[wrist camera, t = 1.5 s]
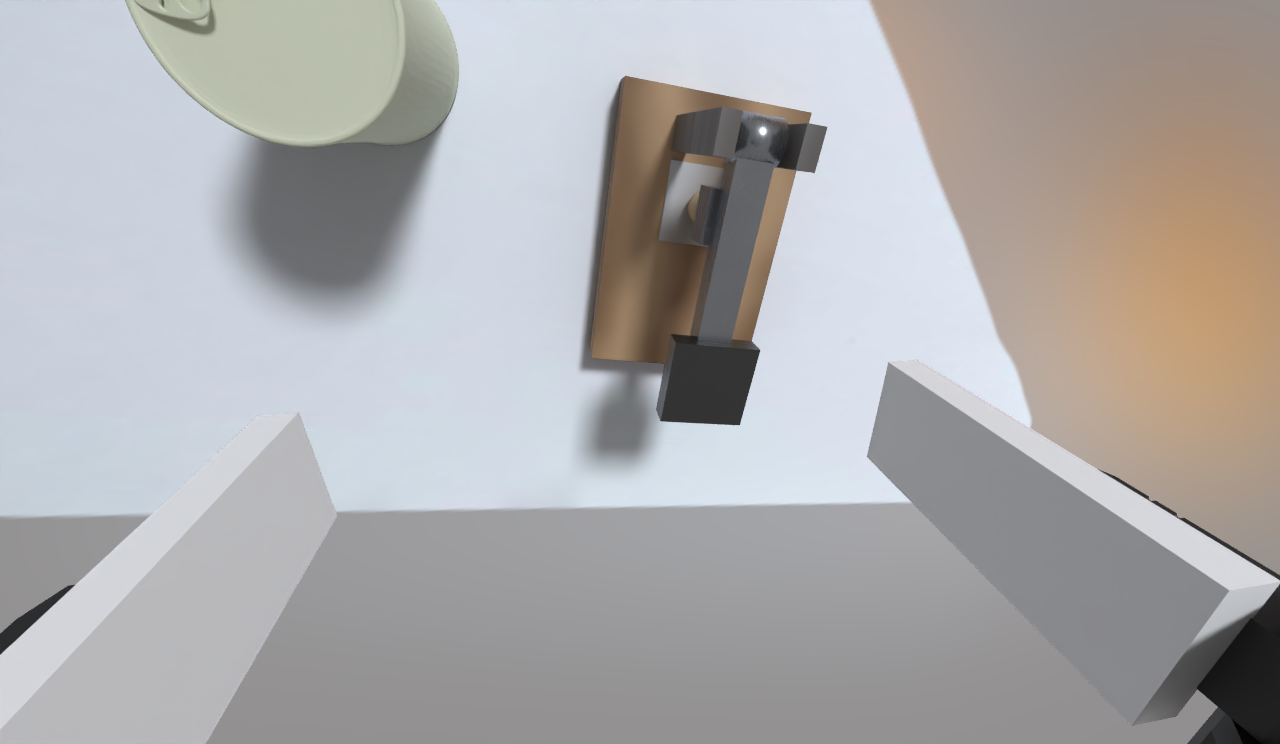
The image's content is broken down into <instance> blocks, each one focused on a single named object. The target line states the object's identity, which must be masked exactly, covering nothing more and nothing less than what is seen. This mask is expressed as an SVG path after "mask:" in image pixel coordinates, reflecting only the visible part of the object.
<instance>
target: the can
mask: <svg viewBox="0 0 1280 744" xmlns="http://www.w3.org/2000/svg"><path fill="white" fill-rule="evenodd" d="M125 1H126V4H127V6H128V9H129V11H130V13H131V16H132V18H133V20H134V22H135V24H136V26H137V28H138V30H139V32H140V34H141V35H142V37H143V39H144V41H145V42H146V44H147V46H148V47H149V49H150V50H151V52H152V53H153V54H154V56H155V57H156V59H157V60H158V61H159V63H160V64H161V65H162V67H163V68H164V69H165V70H166V72H167V73H168V74H169V75H170V76H171V77H172V78H173V79H174V80H175V82H176V83H177V84H178V85H179V86H180V87H181V88H182V89H183V90H184V91H185V92H186V93H187V94H188V95H189V96H191V97H192V98H193V99H194V100H195V101H196V102H198V103H199V104H200V105H201V106H203V107H204V108H205V109H206V110H208V111H209V112H211V113H212V114H214V115H215V116H216V117H218V118H219V119H221V120H223V121H224V122H226V123H228V124H230V125H231V126H233V127H235V128H237V129H239V130H241V131H243V132H245V133H247V134H250V135H252V136H255V137H257V138H260V139H263V140H266V141H269V142H273V143H277V144H282V145H288V146H295V147H320V146H327V145H333V144H337V143H356V142H371V143H375V144H381V145H400V144H406V143H410V142H413V141H416V140H418V139H421V138H423V137H424V136H426V135H428V134H429V133H431V132H432V131H433V130H435V129H436V128H437V127H438V126H439V125H440V124H441V122H442V121H443V120H444V119H445V117H446V116H447V114H448V112H449V111H450V109H451V107H452V104H453V102H454V99H455V96H456V92H457V87H458V78H459V65H458V55H457V50H456V45H455V42H454V38H453V35H452V32H451V30H450V27H449V25H448V23H447V21H446V19H445V17H444V15H443V13H442V11H441V10H440V8H439V7H438V5H437V3H436V2H435V1H434V0H125Z"/></svg>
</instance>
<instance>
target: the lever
mask: <svg viewBox="0 0 1280 744" xmlns="http://www.w3.org/2000/svg"><path fill="white" fill-rule="evenodd" d="M742 111H743V110H742ZM788 135H789V127H788V122H787V120H786V119H784V118H779V117H774V116H768V115H763V114H758V113H753V112H748V111H743V115H742V120H741V125H740V129H739V134H738V139H737V143H736V148H735V153H734V158H733V159H729V158H724V161H725V162H726V163H725V168H724V172H723V177H722V182H721V187H714V186H707V185H701V187H700V192H699V197H698V203H697V208H696V213H695V218H694V224H693V229H692V234H691V239H693V240H694V241H695V242H697V243H698V244H699V245H705V246H708V250H707V255H706V260H705V264H704V269H703V274H702V279H701V284H700V289H699V294H698V298H697V303H696V308H695V313H694V318H693V323H692V327H691V332H690V335H678V334H670V339H669V344H668V349H667V355H666V360H665V365H664V371H663V376H662V381H661V387H660V392H659V397H658V402H657V408H656V410H657V413H658V416H659V418H660V421H665V422H685V423H705V424H726V425H740V422H741V418H742V415H743V411H744V407H745V404H746V400H747V396H748V393H749V389H750V386H751V382H752V378H753V375H754V371H755V367H756V364H757V360H758V356H759V353H760V349H759V348H758V347H757V346H756V345H755V344H754V343H753V342H752V341H746V340H735V339H732V336H733V332H734V328H735V324H736V320H737V316H738V312H739V308H740V304H741V300H742V296H743V291H744V287H745V283H746V279H747V275H748V271H749V267H750V263H751V259H752V255H753V251H754V247H755V242H756V238H757V234H758V230H759V226H760V222H761V218H762V214H763V210H764V206H765V202H766V198H767V194H768V189H769V185H770V181H771V177H772V173H773V170H774V169H775V168H776V167H777V166H778V165H779V163H780V161H781V159H782V157H783V155H784V153H785V150H786V146H787V142H788Z"/></svg>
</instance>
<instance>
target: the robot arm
mask: <svg viewBox="0 0 1280 744" xmlns="http://www.w3.org/2000/svg"><path fill="white" fill-rule="evenodd" d="M867 457H868V458H869V459H870V460H871V461H872V462H873V463H874V464H875V465H876V466H877V467H878V468H879V470H880V471H881V472H882V473H883V474H884V475H885V476H886V477H887V478H888V479H889V480H890V481H891V482H892V483H893V484H894V485H895V486H896V487H897V488H898V489H899V490H900V491H901V492H902V493H903V494H904V495H905V496H906V497H907V498H908V499H909V500H910V501H911V502H912V503H913V504H914V505H915V506H916V507H917V508H918V509H919V510H920V511H921V512H922V513H923V514H924V515H925V516H926V517H927V518H928V519H929V520H930V521H931V522H932V523H933V524H934V525H935V527H936V528H937V529H939V531H940V532H941V533H942V534H943V535H944V536H945V537H946V538H947V539H948V540H949V541H950V542H951V543H952V544H953V545H954V546H955V547H956V548H957V549H958V550H959V551H960V552H961V553H962V554H963V555H964V556H965V557H966V558H967V559H968V560H969V561H970V562H971V563H972V564H973V565H974V566H975V567H976V568H977V569H978V570H979V571H980V572H981V573H982V574H983V575H984V576H985V577H986V578H987V580H989V581H990V583H991V584H993V586H994V587H996V589H997V590H998V591H1000V593H1001V594H1002V595H1003V596H1004V597H1005V598H1006V599H1007V600H1008V601H1009V602H1010V603H1011V604H1012V605H1013V606H1014V607H1015V608H1016V609H1017V610H1018V611H1019V612H1020V613H1021V614H1022V615H1023V616H1024V617H1025V618H1026V619H1027V620H1028V621H1029V622H1030V623H1031V624H1032V625H1033V626H1034V627H1035V628H1036V629H1037V630H1038V631H1039V632H1040V633H1041V634H1042V636H1043V637H1044V638H1045V639H1046V640H1047V641H1048V642H1049V643H1050V644H1051V645H1052V646H1053V647H1054V648H1055V649H1056V650H1057V651H1058V652H1059V653H1060V654H1061V655H1062V656H1063V657H1064V658H1065V659H1066V660H1067V661H1068V662H1069V663H1070V664H1071V665H1072V666H1073V667H1074V668H1075V669H1076V670H1077V671H1078V672H1079V673H1080V674H1081V675H1082V676H1083V677H1084V678H1085V679H1086V680H1087V681H1088V682H1089V683H1090V684H1091V685H1092V686H1093V687H1094V688H1095V689H1096V690H1097V692H1098V693H1100V695H1101V696H1102V697H1103V698H1104V699H1105V700H1106V701H1107V702H1108V703H1109V704H1110V705H1111V706H1112V707H1113V708H1114V709H1115V710H1116V711H1117V712H1118V713H1119V714H1120V715H1121V716H1122V717H1123V718H1124V719H1125V720H1126V721H1127V722H1128V723H1129V724H1130V725H1131V726H1133V725H1137V724H1143V723H1147V722H1152V721H1157V720H1162V719H1167V718H1171V717H1176V716H1177V715H1178V713H1179V712H1180V711H1181V709H1182V708H1183V707H1184V706H1185V704H1186V703H1187V702H1188V701H1189V699H1190V698H1191V697H1192V696H1193V694H1194V693H1195V692H1196V690H1197V689H1198V690H1199V691H1200V692H1201V693H1203V694H1204V695H1205V696H1206V697H1207V698H1208V699H1210V700H1211V701H1212V702H1213V703H1214V704H1216V705H1217V706H1218V708H1217V709H1216V710H1215V711H1214V713H1213V714H1212V715H1211V716H1210V717H1209V718H1208V720H1207V721H1206V722H1205V723H1204V724H1203V726H1202V727H1201V728H1200V729H1199V731H1198V732H1197V733H1196V734H1195V735H1194V737H1193V738H1192V739H1191V740H1190V741H1189V743H1188V744H1280V575H1278V574H1277V573H1275V572H1273V571H1272V570H1270V569H1268V568H1266V567H1265V566H1263V565H1262V564H1260V563H1258V562H1257V561H1255V560H1253V559H1252V558H1250V557H1248V556H1247V555H1245V554H1243V553H1242V552H1240V551H1238V550H1237V549H1235V548H1233V547H1232V546H1230V545H1228V544H1227V543H1225V542H1223V541H1222V540H1220V539H1218V538H1217V537H1215V536H1214V535H1212V534H1210V533H1209V532H1207V531H1205V530H1204V529H1202V528H1200V527H1199V526H1197V525H1195V524H1194V523H1192V522H1190V521H1189V520H1187V519H1185V518H1178V517H1177V514H1176V513H1175V512H1173V511H1172V510H1170V509H1169V508H1167V507H1165V506H1164V505H1162V504H1160V503H1159V502H1157V501H1150V500H1149V496H1147V495H1145V494H1144V493H1142V492H1140V491H1139V490H1137V489H1135V488H1134V487H1132V486H1130V485H1129V484H1127V483H1125V482H1124V481H1122V480H1120V479H1119V478H1117V477H1115V476H1113V475H1110V474H1108V473H1106V472H1103V471H1101V470H1099V469H1096V468H1094V467H1093V466H1091V465H1089V464H1088V463H1086V462H1084V461H1083V460H1081V459H1080V458H1078V457H1076V456H1075V455H1073V454H1071V453H1070V452H1068V451H1066V450H1065V449H1063V448H1062V447H1060V446H1058V445H1056V444H1055V443H1053V442H1052V441H1050V440H1048V439H1047V438H1045V437H1044V436H1042V435H1040V434H1039V433H1037V432H1035V431H1034V430H1032V429H1030V428H1029V427H1027V426H1025V425H1024V424H1022V423H1021V422H1019V421H1017V420H1016V419H1014V418H1012V417H1011V416H1009V415H1007V414H1006V413H1004V412H1002V411H1001V410H999V409H998V408H996V407H994V406H993V405H991V404H989V403H988V402H986V401H984V400H983V399H981V398H979V397H978V396H976V395H975V394H973V393H971V392H970V391H968V390H966V389H965V388H963V387H961V386H960V385H958V384H956V383H955V382H953V381H952V380H950V379H948V378H947V377H945V376H943V375H942V374H940V373H938V372H937V371H935V370H933V369H932V368H930V367H929V366H927V365H925V364H924V363H922V362H920V361H919V360H909V361H897V362H888V367H887V371H886V376H885V380H884V384H883V389H882V393H881V397H880V402H879V406H878V411H877V415H876V419H875V424H874V428H873V433H872V437H871V441H870V446H869V450H868V454H867ZM336 517H337V515H336V512H335V509H334V506H333V504H332V501H331V498H330V496H329V493H328V490H327V487H326V485H325V482H324V479H323V477H322V474H321V471H320V468H319V466H318V463H317V460H316V458H315V455H314V452H313V450H312V447H311V444H310V441H309V439H308V436H307V433H306V431H305V428H304V425H303V423H302V420H301V417H300V414H299V412H295V413H283V414H272V415H260V416H257V417H256V418H255V419H254V420H253V421H251V422H250V423H249V424H248V425H247V426H246V427H245V428H244V429H243V430H242V431H241V432H240V433H239V434H237V435H236V436H235V437H234V438H233V439H232V440H231V441H230V442H229V443H228V444H227V445H226V446H225V447H224V448H222V449H221V450H220V451H219V452H218V453H217V454H216V455H215V456H214V457H213V458H212V459H211V460H210V461H208V462H207V463H206V464H205V465H204V466H203V467H202V468H201V469H200V470H199V471H198V472H197V473H196V474H194V475H193V476H192V477H191V478H190V479H189V480H188V481H187V482H186V483H185V484H184V485H183V486H182V487H180V488H179V489H178V490H177V491H176V492H175V493H174V494H173V495H172V496H171V497H170V498H169V499H168V500H166V501H165V502H164V503H163V504H162V505H161V506H160V507H159V508H158V509H157V510H156V511H155V512H154V513H152V514H151V515H150V516H149V517H148V518H147V519H146V520H145V521H144V522H143V523H142V524H141V525H140V526H138V527H137V528H136V529H135V530H134V531H133V532H132V533H131V534H130V535H129V536H128V537H127V538H126V539H125V540H123V541H122V542H121V543H120V544H119V545H118V546H117V547H116V548H115V549H114V550H113V551H112V552H111V553H109V554H108V555H107V556H106V557H105V558H104V559H103V560H102V561H101V562H100V563H99V564H98V565H97V566H95V567H94V568H93V569H92V570H91V571H90V572H89V573H88V574H87V575H86V576H85V577H84V578H83V579H82V580H80V581H79V582H78V583H77V584H76V585H70V586H67V587H66V588H64V589H62V590H61V591H59V592H58V593H57V594H55V595H53V596H52V597H50V598H49V599H47V600H45V601H44V602H43V603H41V604H39V605H38V606H36V607H35V608H33V609H32V610H30V611H28V612H27V613H25V614H24V615H23V616H21V617H19V618H18V619H16V620H15V621H14V622H13V623H12V624H11V625H10V626H8V627H7V628H6V629H5V630H4V631H3V632H2V633H0V744H206V742H207V740H208V739H209V737H210V735H211V733H212V732H213V730H214V728H215V726H216V725H217V723H218V721H219V720H220V718H221V716H222V714H223V713H224V711H225V709H226V707H227V706H228V704H229V702H230V701H231V699H232V697H233V695H234V694H235V692H236V690H237V688H238V687H239V685H240V683H241V682H242V680H243V678H244V676H245V675H246V673H247V671H248V669H249V668H250V666H251V664H252V663H253V661H254V659H255V657H256V656H257V654H258V652H259V650H260V649H261V647H262V645H263V643H264V642H265V640H266V638H267V637H268V635H269V633H270V631H271V629H272V628H273V626H274V624H275V623H276V621H277V619H278V617H279V616H280V614H281V612H282V611H283V609H284V607H285V605H286V604H287V602H288V600H289V599H290V597H291V595H292V593H293V592H294V590H295V588H296V586H297V585H298V583H299V581H300V580H301V578H302V576H303V574H304V573H305V571H306V569H307V567H308V565H309V564H310V562H311V561H312V559H313V557H314V555H315V554H316V552H317V550H318V548H319V547H320V545H321V543H322V541H323V540H324V538H325V536H326V535H327V533H328V531H329V529H330V527H331V526H332V524H333V522H334V521H335V519H336Z"/></svg>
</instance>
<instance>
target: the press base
mask: <svg viewBox="0 0 1280 744" xmlns="http://www.w3.org/2000/svg"><path fill="white" fill-rule="evenodd" d="M742 110H743V111H748V112H753V113H758V114H763V115H768V116H774V117H779V118H784V119H786V120H787V122H788V127H789V135H788V142H787V146H786V150H785V153H784V155H783V157H782V159H781V161H780V163H779V165H778V166H777V167H776V168H775V169H774V170H773V173H772V177H771V181H770V185H769V189H768V194H767V198H766V202H765V206H764V210H763V214H762V218H761V222H760V226H759V230H758V234H757V238H756V242H755V247H754V251H753V255H752V259H751V263H750V267H749V271H748V275H747V279H746V283H745V287H744V291H743V296H742V300H741V304H740V308H739V312H738V316H737V320H736V324H735V328H734V332H733V336H732V339H735V340H746V341H752V337H753V333H754V330H755V326H756V322H757V318H758V314H759V311H760V307H761V303H762V299H763V295H764V292H765V288H766V284H767V280H768V276H769V273H770V269H771V265H772V261H773V257H774V254H775V250H776V246H777V242H778V238H779V235H780V231H781V227H782V223H783V219H784V216H785V212H786V208H787V204H788V200H789V197H790V193H791V189H792V185H793V181H794V178H795V174H796V170H797V171H805V172H812V173H815V170H816V166H817V162H818V159H819V155H820V152H821V148H822V144H823V141H824V137H825V134H826V130H827V127H825V126H819V125H814V124H809V121H810V117H811V113H810V112H805V111H800V110H795V109H790V108H785V107H779V106H774V105H769V104H764V103H759V102H754V101H749V100H744V99H739V98H734V97H729V96H724V95H719V94H714V93H709V92H704V91H699V90H694V89H689V88H684V87H679V86H674V85H669V84H664V83H659V82H654V81H649V80H644V79H639V78H633V77H628V76H625V77H624V78H622V79H621V85H620V94H619V102H618V111H617V119H616V128H615V136H614V145H613V153H612V162H611V170H610V179H609V187H608V196H607V204H606V213H605V221H604V230H603V239H602V247H601V256H600V264H599V273H598V281H597V290H596V298H595V307H594V315H593V324H592V332H591V341H590V352H591V358H598V359H611V360H624V361H638V362H651V363H664V364H665V360H666V355H667V349H668V344H669V339H670V334H678V335H690V332H691V327H692V323H693V318H694V313H695V308H696V303H697V298H698V294H699V289H700V284H701V279H702V274H703V269H704V264H705V260H706V255H707V250H708V246H705V245H699V244H698V243H697V242H695V241H694V240H693V239H691V234H692V229H693V224H694V218H695V213H696V208H697V203H698V197H699V192H700V187H701V185H707V186H714V187H721V182H722V177H723V172H724V168H725V163H726V162H725V161H724V158H729V159H733V158H734V153H735V148H736V143H737V139H738V134H739V129H740V125H741V120H742V115H743V111H742Z"/></svg>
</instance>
